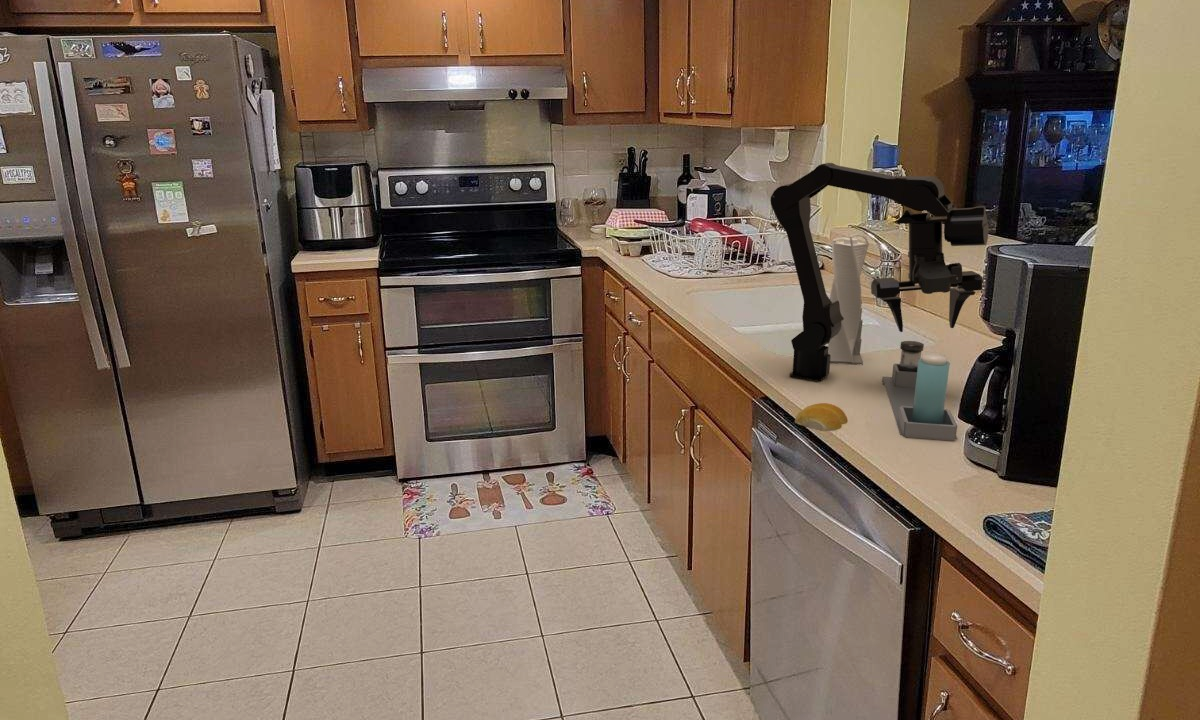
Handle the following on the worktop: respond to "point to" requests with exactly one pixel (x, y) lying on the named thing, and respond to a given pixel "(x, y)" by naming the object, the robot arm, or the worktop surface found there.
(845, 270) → the skyscraper
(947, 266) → the robot arm
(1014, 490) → the worktop surface
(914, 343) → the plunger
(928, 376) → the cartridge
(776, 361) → the worktop surface
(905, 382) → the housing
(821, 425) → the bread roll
